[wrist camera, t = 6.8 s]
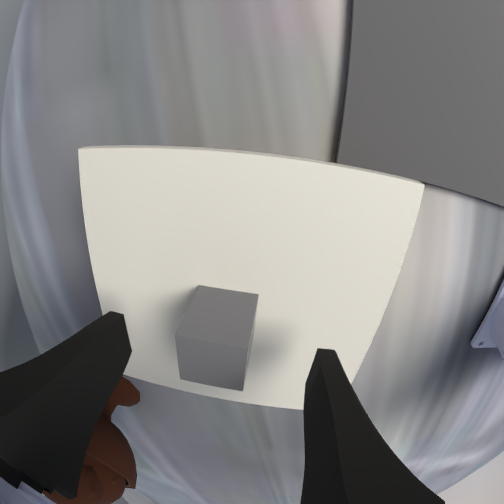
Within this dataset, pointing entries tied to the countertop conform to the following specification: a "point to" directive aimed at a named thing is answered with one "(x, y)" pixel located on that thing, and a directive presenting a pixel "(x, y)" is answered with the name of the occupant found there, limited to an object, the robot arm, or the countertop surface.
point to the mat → (427, 93)
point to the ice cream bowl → (106, 456)
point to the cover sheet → (242, 263)
